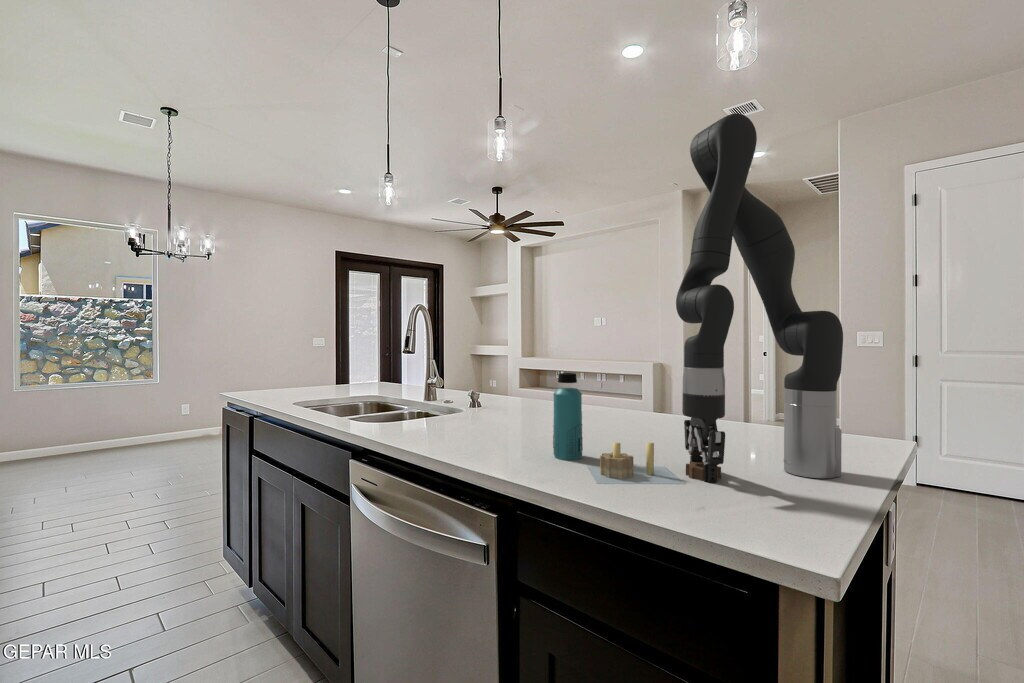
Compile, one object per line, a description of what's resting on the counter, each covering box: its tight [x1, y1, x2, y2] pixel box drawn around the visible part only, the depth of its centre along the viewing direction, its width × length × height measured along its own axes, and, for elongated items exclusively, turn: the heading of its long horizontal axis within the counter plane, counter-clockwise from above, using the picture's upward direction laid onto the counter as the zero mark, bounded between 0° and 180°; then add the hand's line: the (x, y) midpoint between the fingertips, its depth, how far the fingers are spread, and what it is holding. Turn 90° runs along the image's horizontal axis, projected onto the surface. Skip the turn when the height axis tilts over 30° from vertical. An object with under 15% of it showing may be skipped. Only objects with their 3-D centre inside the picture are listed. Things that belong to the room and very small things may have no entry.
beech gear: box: [599, 451, 634, 479], centre depth 93 cm, size 6×6×4 cm
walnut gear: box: [685, 462, 722, 482], centre depth 92 cm, size 6×6×4 cm
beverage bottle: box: [552, 372, 584, 461], centre depth 107 cm, size 6×7×20 cm
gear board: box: [586, 441, 687, 485], centre depth 93 cm, size 16×12×8 cm
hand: (702, 479), depth 92 cm, fingers closed on walnut gear, 6 cm apart
